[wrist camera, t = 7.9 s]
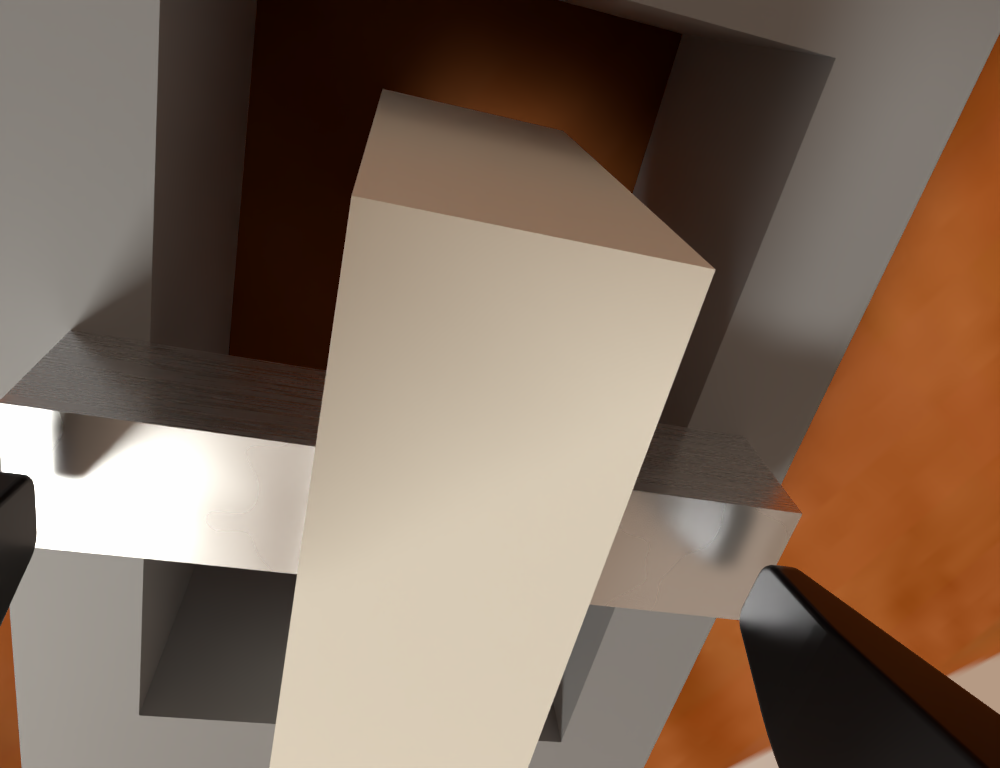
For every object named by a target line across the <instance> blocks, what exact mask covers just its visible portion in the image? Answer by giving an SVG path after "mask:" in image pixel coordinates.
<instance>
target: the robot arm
mask: <svg viewBox="0 0 1000 768" xmlns="http://www.w3.org/2000/svg"><path fill="white" fill-rule="evenodd" d="M36 541H37V517H36V497H35V485H34V482H33V480H32V478H30V477H29V476H28V475H25V474H18V473H10V472H1V471H0V626H1V623H2V621H3V619H4V617H5V615H6V612H7V610H8V608H9V606H10V604H11V602H12V599H13V597H14V595H15V593H16V591H17V588H18V586H19V584H20V582H21V580H22V577H23V575H24V573H25V571H26V569H27V566H28V564H29V562H30V560H31V558H32V555H33V553H34V550H35V546H36ZM740 629H741V633H742V637H743V641H744V645H745V649H746V653H747V657H748V661H749V665H750V669H751V673H752V677H753V681H754V685H755V689H756V693H757V697H758V701H759V705H760V709H761V713H762V717H763V720H764V724H765V727H766V731H767V734H768V738H769V741H770V744H771V747H772V750H773V753H774V756H775V758H776V761H777V764H778V766H779V768H1000V714H998V713H997V712H995V711H994V710H992V709H991V708H990V707H988V706H987V705H986V704H984V703H983V702H981V701H980V700H979V699H977V698H976V697H975V696H973V695H971V694H970V693H969V692H968V691H966V690H965V689H963V688H962V687H961V686H959V685H958V684H957V683H955V682H954V681H952V680H951V679H950V678H948V677H947V676H945V675H944V674H943V673H941V672H940V671H939V670H937V669H936V668H934V667H933V666H932V665H930V664H929V663H927V662H926V661H925V660H923V659H922V658H920V657H919V656H918V655H916V654H915V653H914V652H912V651H911V650H909V649H908V648H907V647H905V646H904V645H902V644H901V643H900V642H898V641H897V640H896V639H894V638H893V637H891V636H890V635H889V634H887V633H886V632H884V631H883V630H882V629H880V628H879V627H878V626H876V625H875V624H873V623H872V622H871V621H869V620H868V619H866V618H865V617H864V616H862V615H861V614H860V613H858V612H857V611H855V610H854V609H853V608H851V607H850V606H848V605H847V604H846V603H844V602H843V601H841V600H840V599H839V598H837V597H836V596H835V595H833V594H832V593H830V592H829V591H828V590H826V589H825V588H823V587H822V586H821V585H819V584H818V583H817V582H815V581H814V580H812V579H811V578H810V577H808V576H807V575H805V574H804V573H803V572H801V571H800V570H798V569H796V568H793V567H786V566H778V565H768V566H765V567H764V568H763V569H762V570H761V571H760V573H759V574H758V576H757V578H756V580H755V582H754V584H753V586H752V588H751V590H750V592H749V594H748V596H747V598H746V600H745V602H744V604H743V606H742V609H741V613H740Z"/></svg>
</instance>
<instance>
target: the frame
mask: <svg viewBox="0 0 1000 768" xmlns="http://www.w3.org/2000/svg"><path fill="white" fill-rule="evenodd" d="M559 1H563V2H567V3H570V4H574V5H578V6H581V7H585V8H589V9H592V10H596V11H599V12H603V13H607V14H610V15H614V16H618V17H621V18H625V19H629V20H632V21H636V22H640V23H643V24H647V25H651V26H654V27H658V28H662V29H665V30H669V31H673V32H676V33H680V34H682V37H681V40H680V44H679V47H678V50H677V53H676V56H675V60H674V63H673V66H672V69H671V72H670V76H669V79H668V82H667V85H666V88H665V92H664V95H663V98H662V101H661V104H660V107H659V111H658V114H657V117H656V120H655V123H654V127H653V130H652V133H651V136H650V139H649V143H648V146H647V149H646V152H645V155H644V159H643V162H642V165H641V168H640V171H639V175H638V178H637V181H636V184H635V187H634V191H633V195H634V196H635V197H636V198H638V199H639V200H640V201H641V202H642V203H643V204H644V205H645V206H646V207H647V208H649V209H650V210H651V211H652V212H653V213H654V214H655V215H656V216H657V217H658V218H660V219H661V220H662V221H663V222H664V223H665V224H666V225H667V226H668V227H669V228H670V229H672V230H673V231H674V232H675V233H676V234H677V235H678V236H679V237H680V238H681V239H683V240H684V241H685V242H686V243H687V244H688V245H689V246H690V247H691V248H692V249H694V250H695V251H696V252H697V253H698V254H699V255H700V256H701V257H702V258H703V259H705V260H706V261H707V262H708V263H709V264H710V265H711V266H712V267H713V268H714V269H716V270H715V273H714V275H713V278H712V281H711V283H710V286H709V289H708V291H707V294H706V297H705V299H704V302H703V304H702V307H701V310H700V312H699V315H698V318H697V320H696V323H695V326H694V328H693V331H692V334H691V336H690V339H689V342H688V344H687V347H686V350H685V352H684V355H683V358H682V360H681V363H680V366H679V368H678V371H677V373H676V376H675V379H674V381H673V384H672V387H671V389H670V392H669V395H668V397H667V400H666V403H665V405H664V408H663V411H662V413H661V416H660V419H659V421H658V423H661V424H667V425H674V426H680V427H686V428H693V429H699V430H705V431H711V432H718V433H724V434H730V435H737V436H743V437H745V438H746V439H747V441H748V442H749V443H750V445H751V446H752V447H753V449H754V450H755V451H756V453H757V454H758V455H759V457H760V458H761V459H762V461H763V462H764V463H765V465H766V466H767V467H768V469H769V470H770V471H771V473H772V474H773V475H774V477H775V478H776V479H777V481H778V482H779V483H780V485H781V483H782V481H783V479H784V477H785V475H786V473H787V471H788V469H789V467H790V465H791V463H792V461H793V458H794V456H795V454H796V452H797V450H798V448H799V446H800V444H801V442H802V440H803V438H804V436H805V434H806V432H807V430H808V428H809V425H810V423H811V421H812V419H813V417H814V415H815V413H816V411H817V409H818V407H819V405H820V403H821V401H822V399H823V397H824V395H825V393H826V390H827V388H828V386H829V384H830V382H831V380H832V378H833V376H834V374H835V372H836V370H837V368H838V366H839V364H840V362H841V360H842V357H843V355H844V353H845V351H846V349H847V347H848V345H849V343H850V341H851V339H852V337H853V335H854V333H855V331H856V329H857V327H858V324H859V322H860V320H861V318H862V316H863V314H864V312H865V310H866V308H867V306H868V304H869V302H870V300H871V298H872V296H873V294H874V291H875V289H876V287H877V285H878V283H879V281H880V279H881V277H882V275H883V273H884V271H885V269H886V267H887V265H888V263H889V261H890V258H891V256H892V254H893V252H894V250H895V248H896V246H897V244H898V242H899V240H900V238H901V236H902V234H903V232H904V230H905V228H906V225H907V223H908V221H909V219H910V217H911V215H912V213H913V211H914V209H915V207H916V205H917V203H918V201H919V199H920V197H921V195H922V193H923V190H924V188H925V186H926V184H927V182H928V180H929V178H930V176H931V174H932V172H933V170H934V168H935V166H936V164H937V162H938V160H939V157H940V155H941V153H942V151H943V149H944V147H945V145H946V143H947V141H948V139H949V137H950V135H951V133H952V131H953V129H954V127H955V124H956V122H957V120H958V118H959V116H960V114H961V112H962V110H963V108H964V106H965V104H966V102H967V100H968V98H969V96H970V94H971V91H972V89H973V87H974V85H975V83H976V81H977V79H978V77H979V75H980V73H981V71H982V69H983V67H984V65H985V63H986V61H987V58H988V56H989V54H990V52H991V50H992V48H993V46H994V44H995V42H996V40H997V38H998V36H999V34H1000V0H559ZM256 10H257V0H0V400H1V399H2V398H3V397H4V396H5V395H6V394H7V393H8V392H9V391H10V390H11V389H12V388H13V387H14V386H15V385H16V384H17V383H18V382H19V381H20V380H21V379H22V378H23V377H24V376H25V375H26V374H27V373H28V372H29V371H30V370H31V369H32V368H33V367H34V366H35V365H36V364H37V363H38V362H39V361H40V360H41V359H42V358H43V357H44V356H45V355H46V354H47V353H48V352H49V351H50V350H51V349H52V348H53V347H54V346H55V345H56V344H57V343H58V342H59V341H60V340H61V339H62V338H63V337H64V336H65V335H66V334H67V333H68V332H69V331H70V330H73V331H79V332H86V333H92V334H98V335H105V336H111V337H117V338H124V339H130V340H136V341H143V342H149V343H155V344H162V345H168V346H174V347H180V348H187V349H193V350H199V351H206V352H212V353H218V354H225V355H229V343H230V331H231V318H232V306H233V294H234V281H235V269H236V257H237V244H238V232H239V220H240V207H241V195H242V183H243V170H244V158H245V146H246V133H247V121H248V109H249V96H250V84H251V72H252V59H253V47H254V35H255V22H256ZM0 471H1V472H2V461H1V447H0ZM296 579H297V574H290V573H280V572H270V571H261V570H251V569H241V568H232V567H222V566H212V565H203V564H193V563H183V562H174V561H164V560H154V559H145V558H135V557H125V556H116V555H106V554H96V553H87V552H77V551H67V550H58V549H48V548H38V547H35V550H34V553H33V555H32V558H31V560H30V562H29V564H28V566H27V569H26V571H25V573H24V575H23V577H22V580H21V582H20V584H19V586H18V588H17V591H16V593H15V595H14V597H13V599H12V602H11V604H10V618H11V631H12V644H13V658H14V671H15V684H16V698H17V711H18V724H19V738H20V751H21V764H22V768H269V767H270V760H271V753H272V746H273V739H274V732H275V725H276V718H277V711H278V704H279V697H280V690H281V683H282V676H283V669H284V662H285V656H286V649H287V642H288V635H289V628H290V621H291V614H292V607H293V600H294V593H295V586H296ZM715 619H716V618H715V617H706V616H696V615H686V614H677V613H667V612H657V611H648V610H638V609H628V608H619V607H609V606H599V605H590V604H589V607H588V610H587V612H586V615H585V618H584V620H583V623H582V626H581V628H580V631H579V634H578V636H577V639H576V642H575V644H574V647H573V649H572V652H571V655H570V657H569V660H568V663H567V665H566V668H565V671H564V673H563V676H562V679H561V681H560V684H559V687H558V689H557V692H556V695H555V697H554V700H553V703H552V705H551V708H550V711H549V713H548V716H547V718H546V721H545V724H544V726H543V729H542V732H541V734H540V737H539V740H538V742H537V745H536V748H535V750H534V753H533V756H532V758H531V761H530V764H529V766H528V768H644V766H645V764H646V762H647V760H648V757H649V755H650V753H651V751H652V749H653V747H654V745H655V743H656V741H657V739H658V737H659V735H660V733H661V731H662V729H663V727H664V724H665V722H666V720H667V718H668V716H669V714H670V712H671V710H672V708H673V706H674V704H675V702H676V700H677V698H678V696H679V694H680V691H681V689H682V687H683V685H684V683H685V681H686V679H687V677H688V675H689V673H690V671H691V669H692V667H693V665H694V663H695V661H696V658H697V656H698V654H699V652H700V650H701V648H702V646H703V644H704V642H705V640H706V638H707V636H708V634H709V632H710V630H711V628H712V625H713V623H714V621H715Z"/></svg>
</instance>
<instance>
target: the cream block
mask: <svg viewBox="0 0 1000 768" xmlns="http://www.w3.org/2000/svg"><path fill="white" fill-rule="evenodd" d="M715 270H716V269H714V268H713V267H712V266H711V265H710V264H709V263H708V262H707V261H706V260H705V259H703V258H702V257H701V256H700V255H699V254H698V253H697V252H696V251H695V250H694V249H692V248H691V247H690V246H689V245H688V244H687V243H686V242H685V241H684V240H683V239H681V238H680V237H679V236H678V235H677V234H676V233H675V232H674V231H673V230H672V229H670V228H669V227H668V226H667V225H666V224H665V223H664V222H663V221H662V220H661V219H660V218H658V217H657V216H656V215H655V214H654V213H653V212H652V211H651V210H650V209H649V208H647V207H646V206H645V205H644V204H643V203H642V202H641V201H640V200H639V199H638V198H636V197H635V196H634V195H633V194H632V193H631V192H630V191H629V190H628V189H627V188H625V187H624V186H623V185H622V184H621V183H620V182H619V181H618V180H617V179H616V178H614V177H613V176H612V175H611V174H610V173H609V172H608V171H607V170H606V169H605V168H603V167H602V166H601V165H600V164H599V163H598V162H597V161H596V160H595V159H594V158H592V157H591V156H590V155H589V154H588V153H587V152H586V151H585V150H584V149H583V148H582V147H580V146H579V145H578V144H577V143H576V142H575V141H574V140H573V139H572V138H571V137H569V136H568V135H567V134H566V133H565V132H564V131H562V130H557V129H553V128H549V127H544V126H540V125H536V124H532V123H527V122H523V121H519V120H514V119H510V118H506V117H502V116H497V115H493V114H489V113H484V112H480V111H476V110H472V109H467V108H463V107H459V106H455V105H450V104H446V103H442V102H437V101H433V100H429V99H425V98H420V97H416V96H412V95H407V94H403V93H399V92H395V91H390V90H386V89H382V93H381V96H380V100H379V103H378V106H377V110H376V113H375V117H374V120H373V124H372V127H371V131H370V134H369V137H368V141H367V144H366V148H365V151H364V155H363V158H362V162H361V165H360V168H359V172H358V175H357V179H356V182H355V186H354V189H353V192H352V196H351V203H350V210H349V217H348V224H347V231H346V238H345V245H344V252H343V259H342V266H341V273H340V280H339V287H338V294H337V301H336V308H335V315H334V322H333V328H332V335H331V342H330V349H329V356H328V363H327V370H326V377H325V384H324V391H323V398H322V405H321V412H320V419H319V426H318V433H317V440H316V447H315V454H314V461H313V468H312V475H311V482H310V489H309V495H308V502H307V509H306V516H305V523H304V530H303V537H302V544H301V551H300V558H299V565H298V572H297V579H296V586H295V593H294V600H293V607H292V614H291V621H290V628H289V635H288V642H287V649H286V656H285V662H284V669H283V676H282V683H281V690H280V697H279V704H278V711H277V718H276V725H275V732H274V739H273V746H272V753H271V760H270V767H269V768H528V766H529V764H530V761H531V758H532V756H533V753H534V750H535V748H536V745H537V742H538V740H539V737H540V734H541V732H542V729H543V726H544V724H545V721H546V718H547V716H548V713H549V711H550V708H551V705H552V703H553V700H554V697H555V695H556V692H557V689H558V687H559V684H560V681H561V679H562V676H563V673H564V671H565V668H566V665H567V663H568V660H569V657H570V655H571V652H572V649H573V647H574V644H575V642H576V639H577V636H578V634H579V631H580V628H581V626H582V623H583V620H584V618H585V615H586V612H587V610H588V607H589V604H590V602H591V599H592V596H593V594H594V591H595V588H596V586H597V583H598V580H599V578H600V575H601V573H602V570H603V567H604V565H605V562H606V559H607V557H608V554H609V551H610V549H611V546H612V543H613V541H614V538H615V535H616V533H617V530H618V527H619V525H620V522H621V519H622V517H623V514H624V511H625V509H626V506H627V504H628V501H629V498H630V496H631V493H632V490H633V488H634V485H635V482H636V480H637V477H638V474H639V472H640V469H641V466H642V464H643V461H644V458H645V456H646V453H647V450H648V448H649V445H650V442H651V440H652V437H653V435H654V432H655V429H656V427H657V424H658V421H659V419H660V416H661V413H662V411H663V408H664V405H665V403H666V400H667V397H668V395H669V392H670V389H671V387H672V384H673V381H674V379H675V376H676V373H677V371H678V368H679V366H680V363H681V360H682V358H683V355H684V352H685V350H686V347H687V344H688V342H689V339H690V336H691V334H692V331H693V328H694V326H695V323H696V320H697V318H698V315H699V312H700V310H701V307H702V304H703V302H704V299H705V297H706V294H707V291H708V289H709V286H710V283H711V281H712V278H713V275H714V273H715Z"/></svg>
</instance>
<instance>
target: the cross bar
mask: <svg viewBox="0 0 1000 768" xmlns="http://www.w3.org/2000/svg"><path fill="white" fill-rule="evenodd" d="M325 377H326V370H320V369H313V368H307V367H301V366H294V365H288V364H282V363H275V362H269V361H263V360H256V359H250V358H244V357H237V356H231V355H225V354H218V353H212V352H206V351H199V350H193V349H187V348H180V347H174V346H168V345H162V344H155V343H149V342H143V341H136V340H130V339H124V338H117V337H111V336H105V335H98V334H92V333H86V332H79V331H73V330H70V331H69V332H68V333H67V334H66V335H65V336H64V337H63V338H62V339H61V340H60V341H59V342H58V343H57V344H56V345H55V346H54V347H53V348H52V349H51V350H50V351H49V352H48V353H47V354H46V355H45V356H44V357H43V358H42V359H41V360H40V361H39V362H38V363H37V364H36V365H35V366H34V367H33V368H32V369H31V370H30V371H29V372H28V373H27V374H26V375H25V376H24V377H23V378H22V379H21V380H20V381H19V382H18V383H17V384H16V385H15V386H14V387H13V388H12V389H11V390H10V391H9V392H8V393H7V394H6V395H5V396H4V397H3V398H2V399H1V400H0V447H1V461H2V472H10V473H18V474H25V475H28V476H29V477H30V478H32V480H33V482H34V485H35V497H36V517H37V541H36V546H35V547H38V548H48V549H58V550H67V551H77V552H87V553H96V554H106V555H116V556H125V557H135V558H145V559H154V560H164V561H174V562H183V563H193V564H203V565H212V566H222V567H232V568H241V569H251V570H261V571H270V572H280V573H290V574H297V572H298V565H299V558H300V551H301V544H302V537H303V530H304V523H305V516H306V509H307V502H308V495H309V489H310V482H311V475H312V468H313V461H314V454H315V447H316V440H317V433H318V426H319V419H320V412H321V405H322V398H323V391H324V384H325ZM801 515H802V513H801V511H800V510H799V509H798V507H797V506H796V505H795V503H794V502H793V501H792V499H791V498H790V497H789V495H788V494H787V493H786V491H785V490H784V489H783V487H782V486H781V485H780V483H779V482H778V481H777V479H776V478H775V477H774V475H773V474H772V473H771V471H770V470H769V469H768V467H767V466H766V465H765V463H764V462H763V461H762V459H761V458H760V457H759V455H758V454H757V453H756V451H755V450H754V449H753V447H752V446H751V445H750V443H749V442H748V441H747V439H746V438H745V437H743V436H737V435H730V434H724V433H718V432H711V431H705V430H699V429H693V428H686V427H680V426H674V425H667V424H661V423H658V424H657V427H656V429H655V432H654V435H653V437H652V440H651V442H650V445H649V448H648V450H647V453H646V456H645V458H644V461H643V464H642V466H641V469H640V472H639V474H638V477H637V480H636V482H635V485H634V488H633V490H632V493H631V496H630V498H629V501H628V504H627V506H626V509H625V511H624V514H623V517H622V519H621V522H620V525H619V527H618V530H617V533H616V535H615V538H614V541H613V543H612V546H611V549H610V551H609V554H608V557H607V559H606V562H605V565H604V567H603V570H602V573H601V575H600V578H599V580H598V583H597V586H596V588H595V591H594V594H593V596H592V599H591V602H590V605H599V606H609V607H619V608H628V609H638V610H648V611H657V612H667V613H677V614H686V615H696V616H706V617H715V618H725V619H735V620H740V613H741V609H742V606H743V604H744V602H745V600H746V598H747V596H748V594H749V592H750V590H751V588H752V586H753V584H754V582H755V580H756V578H757V576H758V574H759V573H760V571H761V570H762V569H763V568H764V567H765V566H768V565H776V564H777V562H778V560H779V559H780V557H781V555H782V553H783V551H784V549H785V547H786V545H787V543H788V541H789V539H790V537H791V535H792V533H793V531H794V529H795V527H796V525H797V523H798V521H799V519H800V517H801Z"/></svg>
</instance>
